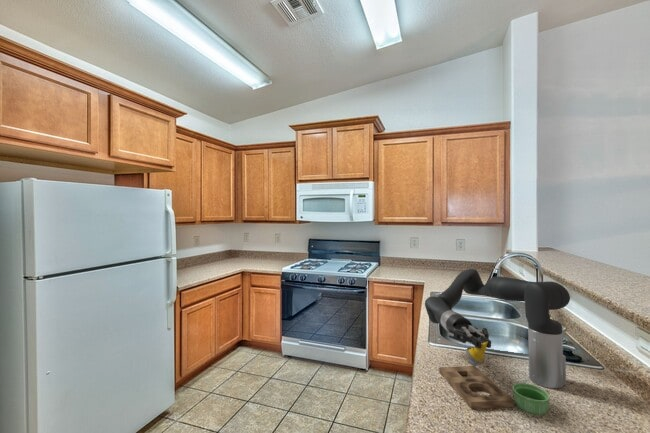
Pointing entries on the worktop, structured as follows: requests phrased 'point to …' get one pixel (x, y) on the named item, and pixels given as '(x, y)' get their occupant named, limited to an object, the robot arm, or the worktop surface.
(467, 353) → the drill bit
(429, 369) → the worktop surface
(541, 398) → the ramekin
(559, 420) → the worktop surface
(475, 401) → the socket board
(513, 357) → the worktop surface
